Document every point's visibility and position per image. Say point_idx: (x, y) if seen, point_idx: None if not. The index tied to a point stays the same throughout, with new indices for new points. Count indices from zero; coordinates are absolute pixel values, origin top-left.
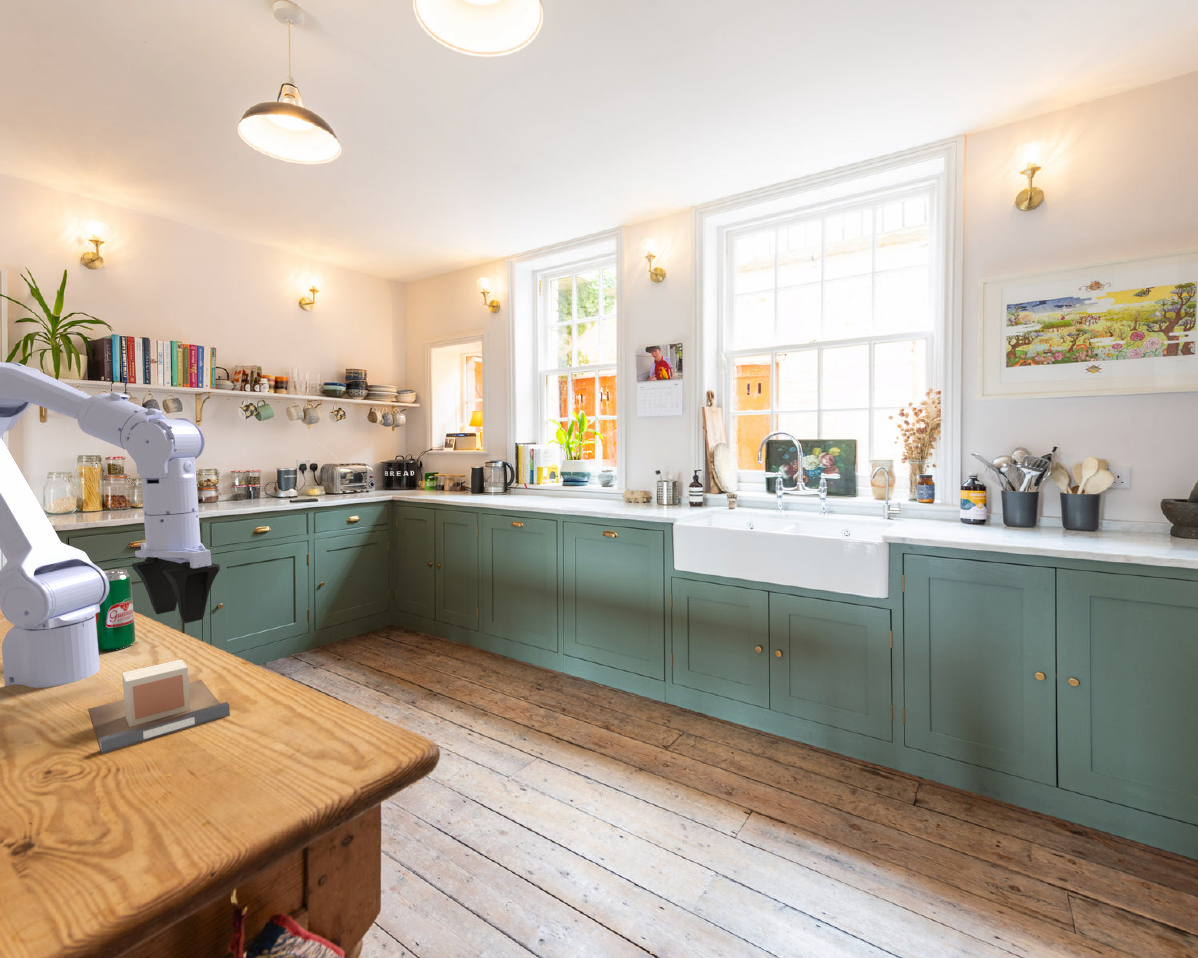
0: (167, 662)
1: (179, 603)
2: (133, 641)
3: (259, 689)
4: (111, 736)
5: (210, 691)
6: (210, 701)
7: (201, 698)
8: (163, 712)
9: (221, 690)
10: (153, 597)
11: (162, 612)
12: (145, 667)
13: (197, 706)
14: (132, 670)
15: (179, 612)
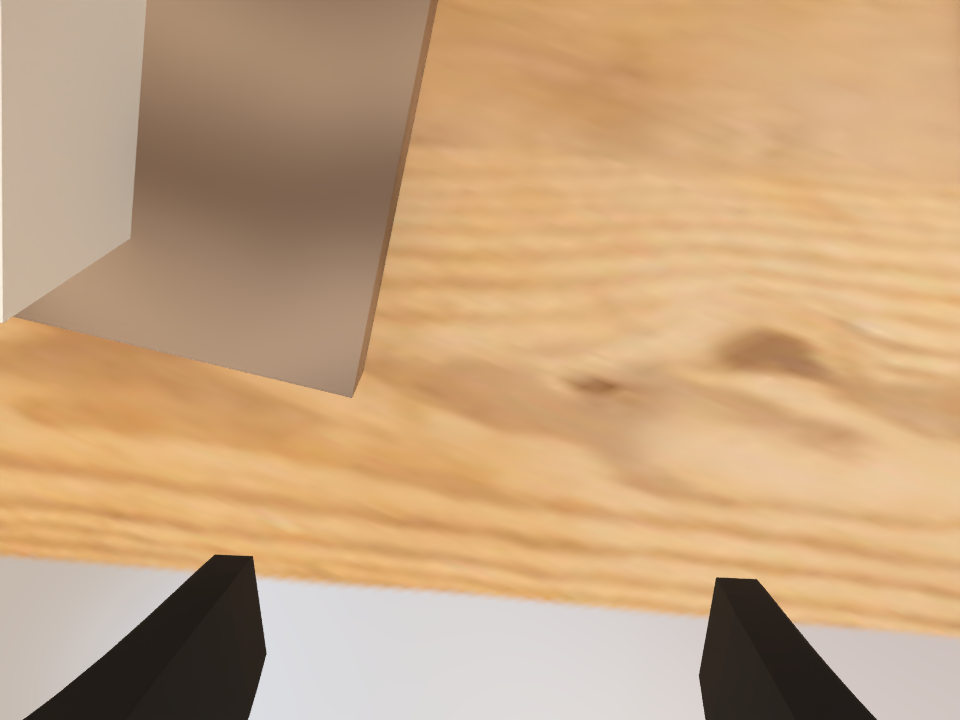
0: (2, 249)
1: (122, 662)
2: None
3: (168, 488)
4: None
5: (150, 348)
6: None
7: (92, 288)
8: None
9: (297, 414)
10: (773, 687)
11: (715, 610)
12: (2, 129)
13: None
14: (3, 53)
15: (214, 602)
